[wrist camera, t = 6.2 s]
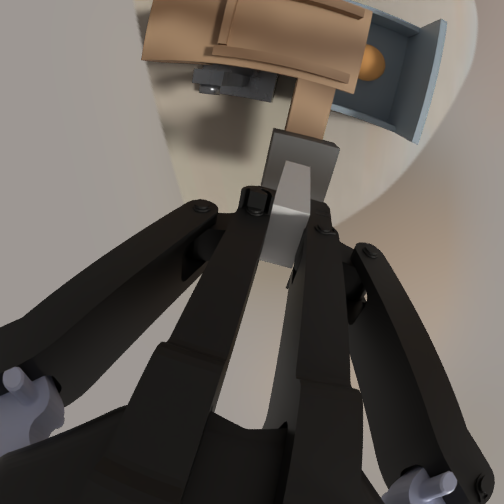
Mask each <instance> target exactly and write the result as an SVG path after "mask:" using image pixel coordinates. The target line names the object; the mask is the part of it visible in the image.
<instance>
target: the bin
mask: <svg viewBox="0 0 504 504" xmlns="http://www.w3.org/2000/svg"><path fill="white" fill-rule="evenodd" d="M343 1H346V2H349V3H352V4H355V5H357V6H360V7H363V8H365V9H368V10H370V11H373V14H372V19H371V24H370V28H369V33H368V38H367V42H366V44H369V45H372V46H374V47H375V48H377V49H378V50H379V51H380V52H381V53H382V55H383V57H384V59H385V70H384V73H383V74H382V75H381V76H380V77H379V78H378V79H375V80H372V81H364V80H361V79H358V80H357V83H356V87H355V91H354V94H350V93H347V92H344V91H341V90H338V89H336V90H335V94H334V98H333V102H332V106H331V110H334V111H337V112H340V113H343V114H346V115H349V116H352V117H355V118H358V119H361V120H364V121H367V122H369V123H372V124H375V125H377V126H380V127H382V128H385V129H387V130H390V131H392V132H395V133H396V134H398V135H400V136H402V137H404V138H405V139H407V140H409V141H411V142H413V143H415V144H417V145H418V143H419V140H420V137H421V134H422V131H423V128H424V124H425V121H426V118H427V114H428V111H429V107H430V104H431V100H432V96H433V92H434V89H435V84H436V80H437V76H438V72H439V67H440V62H441V57H442V52H443V47H444V41H445V35H446V28H447V22H446V21H444V20H443V19H439V20H437V21H435V22H433V23H430V24H428V25H426V26H424V27H422V28H419V27H417V26H415V25H413V24H411V23H409V22H406V21H404V20H402V19H400V18H397V17H395V16H393V15H390V14H388V13H385V12H383V11H380V10H377V9H375V8H372V7H369V6H366V5H363V4H360V3H357V2H354V1H351V0H343Z"/></svg>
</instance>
